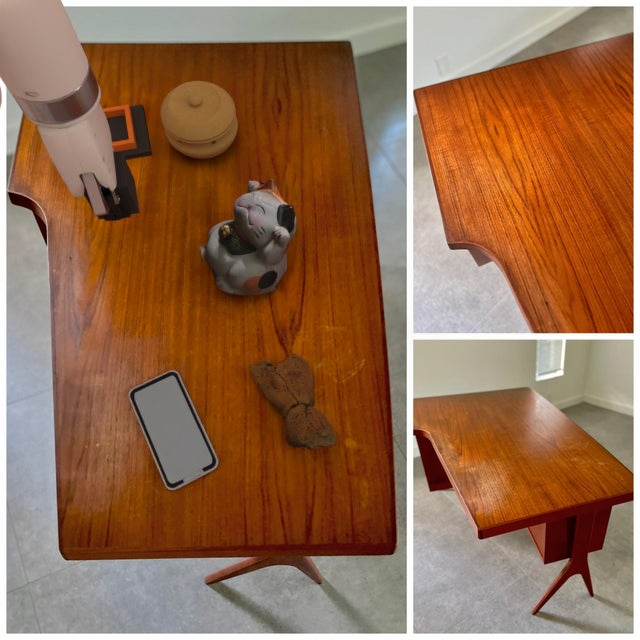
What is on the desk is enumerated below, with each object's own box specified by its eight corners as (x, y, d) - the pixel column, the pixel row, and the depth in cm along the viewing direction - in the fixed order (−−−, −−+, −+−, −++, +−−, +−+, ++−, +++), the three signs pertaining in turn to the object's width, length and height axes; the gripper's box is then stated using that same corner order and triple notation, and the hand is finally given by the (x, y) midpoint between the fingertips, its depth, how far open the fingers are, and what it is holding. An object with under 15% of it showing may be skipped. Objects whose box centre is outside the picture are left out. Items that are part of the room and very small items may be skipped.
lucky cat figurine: (193, 234, 83) (211, 156, 73) (265, 238, 88) (290, 166, 79) (213, 304, 74) (236, 225, 65) (292, 304, 80) (323, 231, 70)
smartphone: (176, 367, 74) (221, 465, 69) (177, 369, 75) (221, 466, 70) (125, 391, 73) (167, 493, 68) (127, 393, 73) (169, 493, 69)
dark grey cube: (98, 219, 66) (82, 192, 61) (94, 186, 68) (78, 156, 62) (139, 213, 67) (126, 185, 61) (134, 179, 69) (121, 150, 63)
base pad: (77, 168, 86) (71, 158, 84) (72, 120, 90) (66, 109, 88) (151, 155, 88) (148, 144, 86) (143, 108, 91) (139, 97, 89)
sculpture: (291, 453, 60) (263, 333, 66) (269, 471, 69) (246, 364, 75) (355, 440, 64) (323, 327, 69) (326, 459, 72) (300, 357, 78)
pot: (237, 171, 87) (230, 128, 78) (165, 168, 87) (149, 125, 78) (242, 114, 92) (236, 68, 82) (174, 111, 91) (160, 64, 82)
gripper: (10, 26, 53) (80, 148, 69) (16, 166, 47) (91, 262, 64) (88, 16, 53) (138, 139, 70) (104, 152, 48) (154, 250, 64)
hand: (115, 196), depth 67 cm, fingers closed on dark grey cube, 5 cm apart
